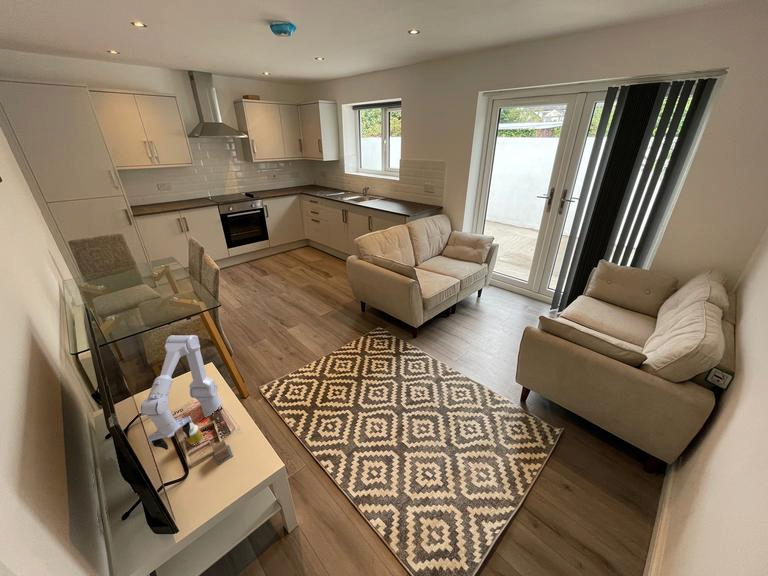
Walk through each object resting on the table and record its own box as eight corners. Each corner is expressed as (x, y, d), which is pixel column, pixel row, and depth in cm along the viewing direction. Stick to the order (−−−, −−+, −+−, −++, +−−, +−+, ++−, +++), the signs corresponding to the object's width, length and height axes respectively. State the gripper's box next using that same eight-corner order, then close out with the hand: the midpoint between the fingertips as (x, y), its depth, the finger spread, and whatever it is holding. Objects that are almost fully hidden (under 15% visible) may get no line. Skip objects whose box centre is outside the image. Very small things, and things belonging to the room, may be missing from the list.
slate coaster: (214, 453, 127) (213, 453, 127) (229, 445, 130) (228, 444, 130) (217, 465, 123) (217, 464, 123) (233, 456, 126) (232, 455, 126)
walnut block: (216, 453, 127) (212, 446, 124) (227, 447, 129) (223, 439, 126) (219, 462, 124) (214, 455, 121) (230, 455, 126) (226, 448, 123)
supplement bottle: (198, 446, 130) (190, 433, 124) (186, 445, 130) (178, 431, 125) (205, 434, 134) (198, 421, 129) (194, 433, 135) (186, 420, 129)
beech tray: (182, 439, 132) (181, 437, 131) (215, 422, 139) (214, 420, 138) (189, 468, 122) (188, 466, 121) (224, 447, 129) (223, 445, 128)
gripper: (142, 441, 107) (158, 461, 115) (188, 417, 115) (200, 438, 122) (140, 426, 112) (155, 447, 119) (184, 405, 120) (196, 425, 127)
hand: (178, 441), depth 121 cm, fingers open, 7 cm apart
